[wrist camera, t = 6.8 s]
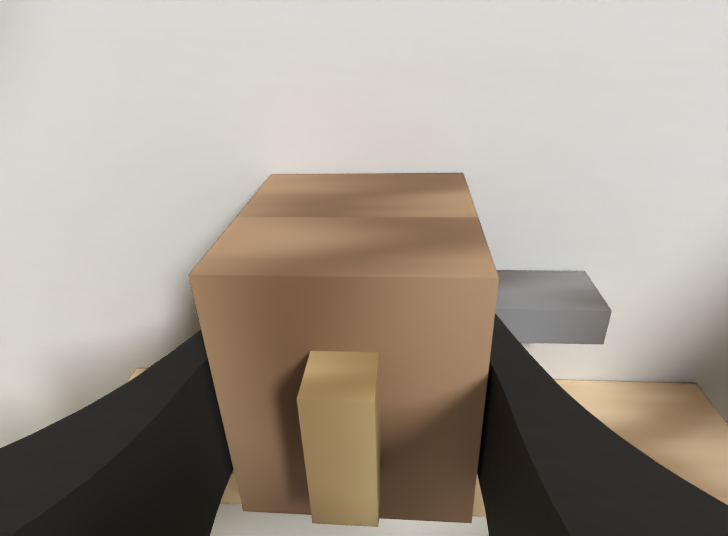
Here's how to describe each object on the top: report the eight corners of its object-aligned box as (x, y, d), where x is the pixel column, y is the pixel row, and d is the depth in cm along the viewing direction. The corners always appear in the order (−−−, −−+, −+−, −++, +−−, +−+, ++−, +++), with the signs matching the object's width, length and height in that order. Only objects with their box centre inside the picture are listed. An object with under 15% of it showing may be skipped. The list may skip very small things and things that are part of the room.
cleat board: (738, 272, 13) (859, 369, 10) (685, 412, 15) (766, 531, 12) (104, 267, 15) (8, 349, 11) (145, 395, 17) (77, 496, 13)
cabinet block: (463, 172, 12) (514, 321, 6) (451, 359, 15) (478, 581, 9) (271, 174, 13) (154, 315, 7) (294, 355, 16) (224, 565, 10)
